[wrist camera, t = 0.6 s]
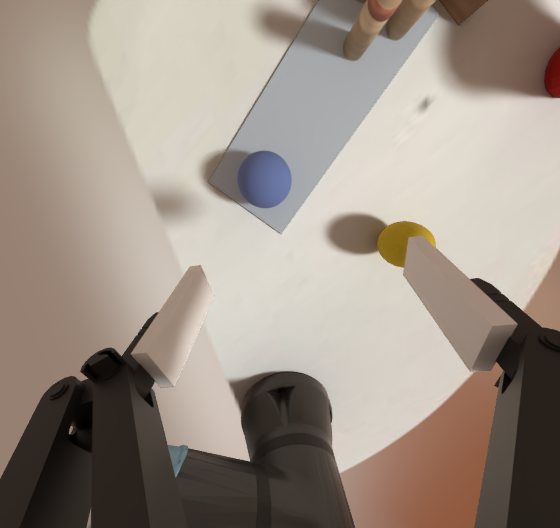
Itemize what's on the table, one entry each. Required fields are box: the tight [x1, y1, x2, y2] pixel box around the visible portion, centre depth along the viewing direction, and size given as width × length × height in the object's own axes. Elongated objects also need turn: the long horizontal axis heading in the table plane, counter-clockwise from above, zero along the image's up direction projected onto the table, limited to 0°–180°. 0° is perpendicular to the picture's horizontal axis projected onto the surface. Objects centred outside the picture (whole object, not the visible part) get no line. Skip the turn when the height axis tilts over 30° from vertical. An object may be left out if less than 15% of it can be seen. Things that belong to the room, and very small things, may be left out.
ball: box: [237, 151, 292, 208], centre depth 25 cm, size 6×6×6 cm
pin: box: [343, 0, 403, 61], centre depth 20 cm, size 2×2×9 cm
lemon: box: [377, 221, 436, 268], centre depth 27 cm, size 6×6×8 cm
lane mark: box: [208, 0, 439, 234], centre depth 26 cm, size 29×11×1 cm, turn 144°
